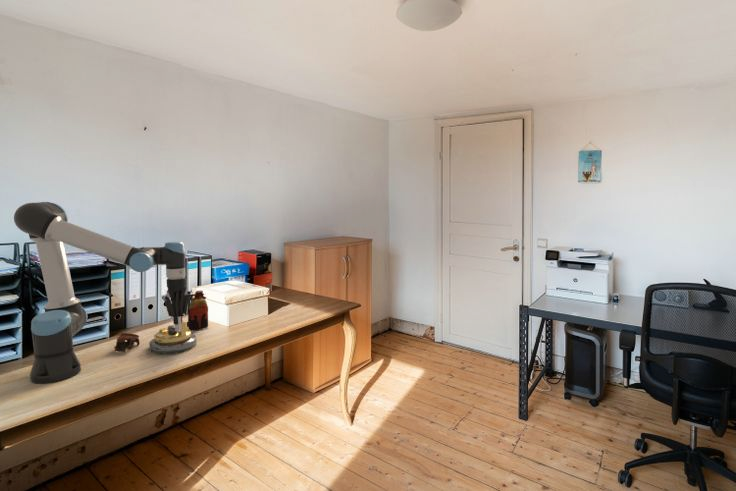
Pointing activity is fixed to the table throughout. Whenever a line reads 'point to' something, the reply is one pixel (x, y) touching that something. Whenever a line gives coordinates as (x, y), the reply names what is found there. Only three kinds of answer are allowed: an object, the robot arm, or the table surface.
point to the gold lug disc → (172, 336)
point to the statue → (198, 312)
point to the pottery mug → (122, 345)
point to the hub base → (172, 348)
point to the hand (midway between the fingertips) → (178, 330)
